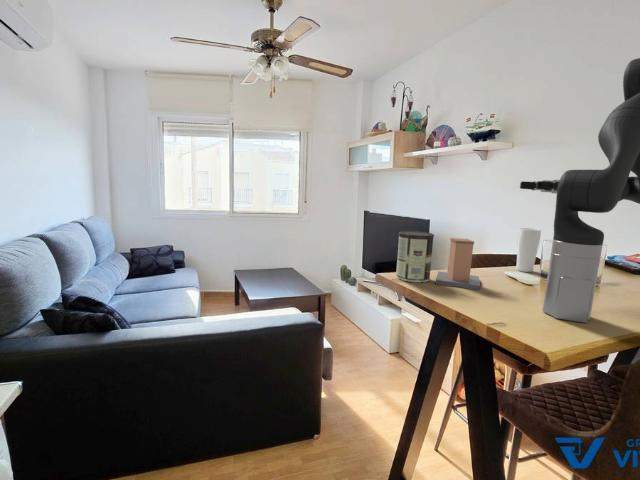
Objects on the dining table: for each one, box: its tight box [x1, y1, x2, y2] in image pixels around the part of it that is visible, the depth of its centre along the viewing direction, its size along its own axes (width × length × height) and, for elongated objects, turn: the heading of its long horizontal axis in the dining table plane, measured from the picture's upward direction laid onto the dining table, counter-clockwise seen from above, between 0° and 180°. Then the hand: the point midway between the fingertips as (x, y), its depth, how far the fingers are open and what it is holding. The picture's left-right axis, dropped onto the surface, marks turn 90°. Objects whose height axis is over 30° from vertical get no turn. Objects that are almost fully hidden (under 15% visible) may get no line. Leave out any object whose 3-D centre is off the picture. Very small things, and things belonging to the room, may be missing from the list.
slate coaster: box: [434, 270, 481, 291], centre depth 109 cm, size 12×12×1 cm
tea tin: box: [446, 237, 475, 281], centre depth 108 cm, size 5×5×12 cm
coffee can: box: [395, 230, 435, 284], centre depth 110 cm, size 10×10×14 cm
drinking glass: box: [515, 227, 542, 273], centre depth 128 cm, size 7×7×15 cm
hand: (528, 185), depth 104 cm, fingers open, 8 cm apart
